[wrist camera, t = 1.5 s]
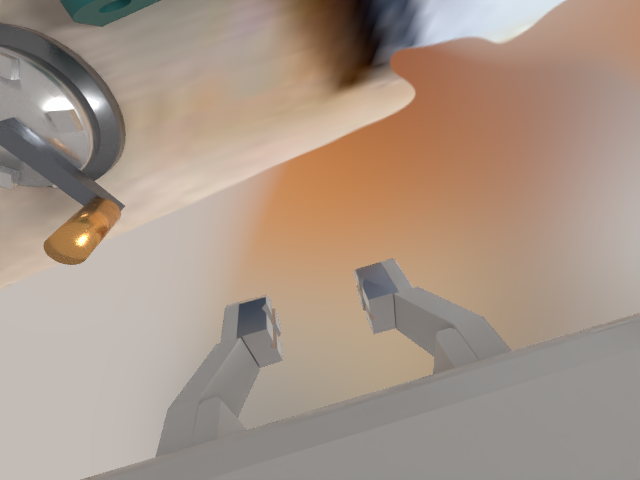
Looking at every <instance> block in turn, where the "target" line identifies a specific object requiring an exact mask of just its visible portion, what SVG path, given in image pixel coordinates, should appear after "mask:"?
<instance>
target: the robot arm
mask: <svg viewBox="0 0 640 480" xmlns="http://www.w3.org/2000/svg"><path fill="white" fill-rule="evenodd" d="M354 275H355V279H356V281H357V286H356V287H357V291H358V295H359V299H360V302H361V305H362V307H363V310H365V311H366V314H367V320H368V322H369V324H370V327H371V329H372V331H373V334H375V333H379V332H383V331H387V330H391V329H394V328H396V329H397V330H398V331H400V332H401V333H402V334H404V335H405V336H407V337H408V338H409V339H411V340H412V341H413V342H415V343H416V344H417V345H419V346H420V347H422V348H423V349H424V350H426V351H427V352H428V353H430V354H431V355H432V356H434V369H433V374H432V375H429V376H426V377H422V378H419V379H416V380H412V381H409V382H406V383H402V384H399V385H396V386H392V387H389V388H386V389H382V390H379V391H376V392H372V393H369V394H366V395H362V396H359V397H356V398H352V399H349V400H346V401H342V402H339V403H336V404H332V405H329V406H326V407H323V408H319V409H316V410H313V411H309V412H306V413H302V414H299V415H296V416H292V417H289V418H286V419H282V420H279V421H276V422H272V423H269V424H266V425H262V426H259V427H256V428H252V429H249V430H247V429H246V428H245V427H244V426H243V424H242V423H241V422H240V421H239V420H238V419H237V418H238V416H239V414H240V412H241V409H242V407H243V405H244V403H245V401H246V398H247V397H248V394H249V392H250V390H251V388H252V386H253V384H254V382H255V379H256V377H257V375H258V373H259V371H260V368H261V367H264V366H267V365H270V364H274V363H277V362H280V361H282V360H283V356H282V344H281V342H280V340H279V336H280V334H281V331H280V324H279V319H278V316H277V313H276V311H275V309H273V308H272V306H271V300H270V298H269V296H268V295H263V296H259V297H256V298H252V299H248V300H244V301H240V302H237V303H233V304H229V305H227V306H226V308H225V312H224V320H223V327H222V335H221V343H219V344H217V345H216V346H215V347H214V348H213V350H212V351H211V352H210V354H209V355H208V356H207V358H206V359H205V360H204V362H203V363H202V364H201V366H200V367H199V368H198V370H197V371H196V372H195V374H194V375H193V376H192V378H191V379H190V380H189V382H188V383H187V384H186V386H185V387H184V388H183V390H182V391H181V392H180V394H179V395H178V396H177V398H176V399H175V400H174V402H173V403H172V405H171V406H170V407H169V408H168V410H167V415H166V418H165V422H164V426H163V430H162V434H161V438H160V442H159V446H158V450H157V454H156V457H155V458H152V459H149V460H145V461H142V462H139V463H135V464H132V465H128V466H125V467H122V468H118V469H115V470H112V471H109V472H105V473H102V474H99V475H95V476H92V477H88V478H85V479H82V480H640V313H636V314H633V315H629V316H626V317H623V318H620V319H616V320H613V321H610V322H606V323H603V324H600V325H596V326H593V327H589V328H586V329H583V330H579V331H576V332H573V333H570V334H566V335H563V336H559V337H556V338H553V339H550V340H546V341H543V342H540V343H536V344H533V345H530V346H526V347H523V348H519V349H516V350H513V351H512V350H511V349H510V348H509V346H508V345H507V344H506V343H505V342H504V341H503V340H502V338H501V337H500V336H499V335H498V334H497V332H496V331H495V330H494V329H493V328H492V326H491V325H490V324H489V323H488V322H487V321H486V319H485V318H484V317H482V316H480V315H478V314H476V313H474V312H471V311H469V310H467V309H465V308H463V307H461V306H458V305H456V304H454V303H452V302H450V301H448V300H445V299H443V298H441V297H439V296H437V295H434V294H432V293H430V292H428V291H426V290H424V289H422V288H419V287H414V288H413V287H412V285H411V283H410V282H409V280H408V279H407V277H406V276H405V274H404V273H403V271H402V270H401V268H400V267H399V265H398V264H397V262H396V261H395V259H393V258H391V259H388V260H385V261H381V262H380V263H375V264H372V265H369V266H365V267H361V268H358V269H355V270H354Z"/></svg>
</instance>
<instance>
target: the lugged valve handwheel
mask: <svg viewBox="0 0 640 480" xmlns="http://www.w3.org/2000/svg"><path fill="white" fill-rule="evenodd" d="M100 139H101V136H100V128H99V124H98V120H97V118H96V115H95V113H94V111H93V109H92V107H91V105H90V103H89V102H88V100H87V99H86V97H85V96H84V95H83V93H82V92H81V91H80V90H79V88H78V87H77V86H76V85H75V84H74V83H73V82H72V81H71V80H70V79H69V78H68V77H67V76H65V75H64V74H63V73H62V72H61V71H59V70H58V69H57V68H55V67H54V66H53V65H51V64H50V63H48V62H46V61H45V60H43V59H41V58H40V57H38V56H36V55H34V54H32V53H29V52H27V51H24V50H22V49H19V48H16V47H12V46H8V45H3V44H0V186H1V187H4V188H8V189H13V188H15V187H17V186H18V185H23V186H32V187H44V186H52V185H56V186H57V187H58V188H60V189H61V190H63V191H64V192H65V193H67V194H68V195H69V196H71V197H72V198H74V199H75V200H76V201H78V202H79V203H80V204H82V205H83V207H82V208H81V209H80V210H79V211H78V212H77V213H76V214H75V215H73V216H72V217H71V218H70V219H69V220H68V221H67V222H66V223H64V224H63V225H62V226H61V227H60V228H59V229H58V230H57V231H56V232H54V233H53V234H52V235H51V236H50V237H49V238H48V239H47V240H46V241H45V242H44V250H45V252H46V253H47V255H48V256H49V257H51V258H52V259H54V260H55V261H57V262H60V263H63V264H69V265H75V264H80V263H82V262H84V261H85V260H86V259H87V257H88V256H89V255H90V253H91V252H92V251H93V250H94V249H95V247H96V246H97V245H98V244H99V243H100V242H101V240H102V239H103V238H104V237H105V235H106V234H107V233H108V232H109V231H110V229H111V228H112V227H113V226H114V224H115V223H116V222H117V221H118V220H119V218H120V216H121V212H120V211H121V210H122V209H123V208H124V207H125V205H123V204H122V203H121V202H120V201H118V200H117V199H116V198H114V197H113V196H112V195H111V194H109V193H108V192H107V191H106V190H104V189H103V188H102V187H101V186H99V185H98V184H97V183H96V182H94V181H93V180H92V179H90V178H89V177H88V176H87V175H85V174H84V173H83V172H82V170H83V169H84V168H86V167H87V166H89V165H90V164H91V163H92V162H93V160H94V159H95V157H96V156H97V153H98V151H99V147H100Z"/></svg>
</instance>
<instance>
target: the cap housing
mask: <svg viewBox="0 0 640 480" xmlns="http://www.w3.org/2000/svg"><path fill="white" fill-rule="evenodd" d="M0 44H3V45H8V46H12V47H16V48H19V49H22V50H24V51H27V52H29V53H32V54H34V55H36V56H38V57H40V58H41V59H43V60H45V61H46V62H48V63H50V64H51V65H53V66H54V67H55V68H57V69H58V70H59V71H61V72H62V73H63V74H64V75H65V76H67V77H68V78H69V79H70V80H71V81H72V82H73V83H74V84H75V85H76V86H77V87H78V88H79V90H80V91H81V92H82V93H83V95H84V96H85V97H86V99H87V100H88V102H89V103H90V105H91V107H92V109H93V111H94V113H95V115H96V118H97V120H98V124H99V128H100V136H101V139H100V147H99V151H98V153H97V156H96V157H95V159H94V160H93V162H92V163H91V164H90V165H89V166H87V167H86V168H84V169H83V170H82V172H83V173H84V174H85V175H87V176H88V177H89V178H90V179H92V180H93V181H94V180H96V179H98V178H100V177H101V176H102V175H104V174H105V173H106V172H107V171H109V170H110V169H111V168H112V167H113V166H114V165H115V164H116V163H117V161H118V160H119V158H120V156H121V154H122V152H123V149H124V144H125V125H124V120H123V116H122V113H121V111H120V108H119V105H118V103H117V101H116V99H115V97H114V95H113V94H112V92H111V91H110V89H109V88H108V86H107V85H106V83H105V82H104V81H103V80H102V78H101V77H100V76H99V75H98V74H97V72H96V71H95V70H94V69H93V68H92V67H91V66H90V65H89V64H88V63H87V62H85V61H84V60H83V59H82V58H81V57H80V56H78V55H77V54H76V53H74V52H73V51H72V50H70V49H69V48H68V47H66V46H64V45H63V44H61V43H59V42H58V41H56V40H54V39H52V38H50V37H48V36H46V35H44V34H42V33H39V32H37V31H34V30H31V29H29V28H25V27H21V26H17V25H11V24H3V23H0ZM47 187H54V188H58V187H57V186H56V185H52V186H47Z"/></svg>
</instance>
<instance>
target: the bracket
mask: <svg viewBox="0 0 640 480" xmlns="http://www.w3.org/2000/svg"><path fill="white" fill-rule="evenodd" d="M158 1H160V0H60V2H61V3H62V4H63V6H64V7H65V9H66V10H67V12H68V13H69V15H70V16H71V17H72V19H73V20H74V21H75V22H78V23H84V24H90V25H96V26H105V25H107V24H109V23H111V22H113V21H116V20H118V19H120V18H122V17H124V16H127V15H129V14H131V13H133V12H136V11H138V10H140V9H142V8H144V7H147V6H149V5H151V4H153V3H155V2H158Z"/></svg>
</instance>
